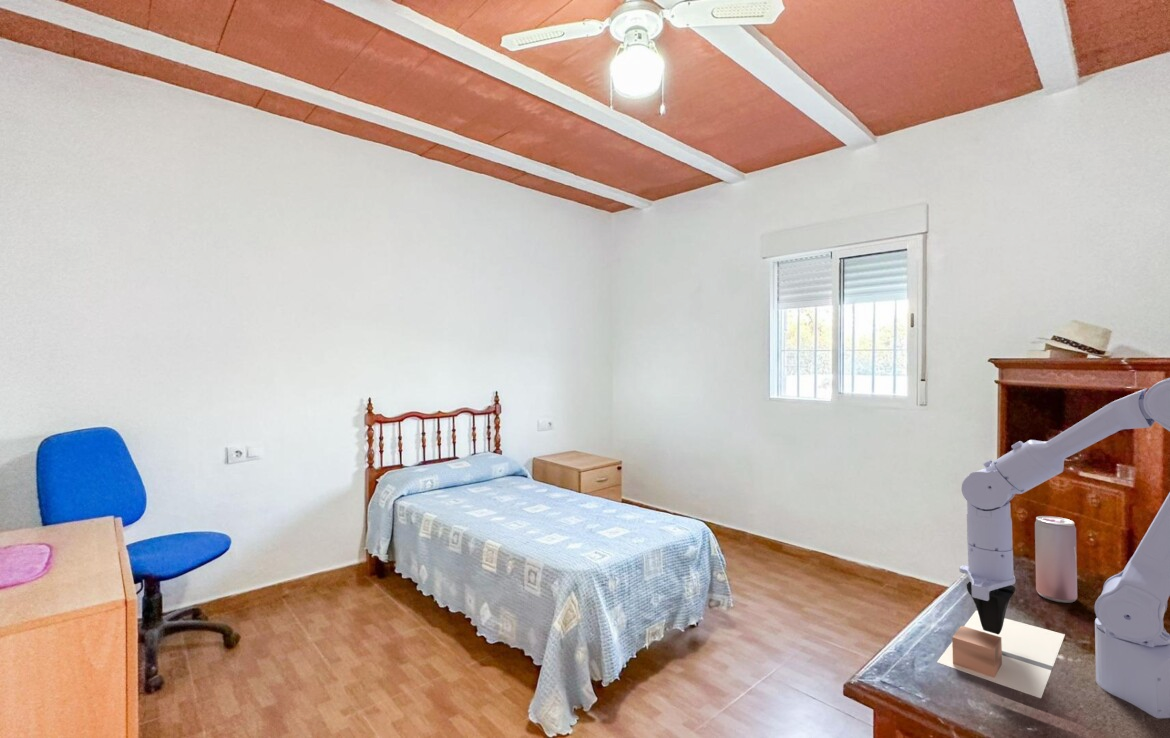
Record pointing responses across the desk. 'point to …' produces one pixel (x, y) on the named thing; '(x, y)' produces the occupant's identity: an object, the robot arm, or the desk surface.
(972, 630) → the block
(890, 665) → the desk surface
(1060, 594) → the beverage can
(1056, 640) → the board
